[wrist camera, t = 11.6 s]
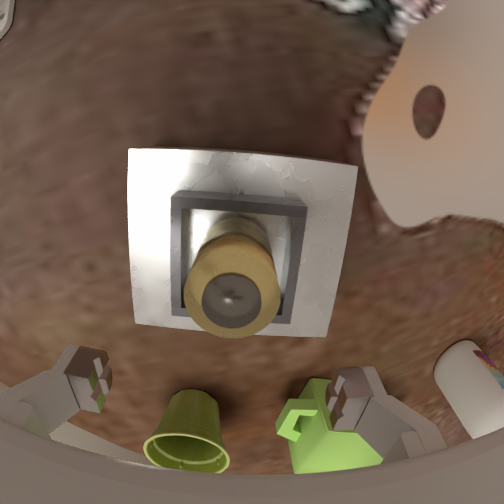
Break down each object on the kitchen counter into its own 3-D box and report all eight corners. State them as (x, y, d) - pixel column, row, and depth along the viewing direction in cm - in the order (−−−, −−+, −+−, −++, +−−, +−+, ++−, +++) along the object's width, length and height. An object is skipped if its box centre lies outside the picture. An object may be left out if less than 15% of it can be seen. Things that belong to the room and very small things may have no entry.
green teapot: (410, 377, 36) (441, 423, 27) (376, 425, 39) (397, 472, 30) (291, 360, 34) (306, 421, 25) (263, 416, 37) (270, 475, 28)
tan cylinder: (202, 214, 22) (181, 253, 15) (274, 220, 22) (287, 261, 15) (200, 280, 23) (182, 339, 16) (267, 285, 24) (275, 346, 17)
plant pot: (153, 374, 34) (135, 428, 26) (231, 380, 35) (229, 438, 26) (163, 422, 38) (151, 471, 29) (231, 427, 38) (229, 479, 30)
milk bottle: (431, 389, 37) (489, 493, 18) (431, 353, 34) (506, 468, 16) (473, 366, 36) (538, 457, 17) (476, 329, 34) (559, 425, 15)
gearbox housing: (152, 146, 26) (114, 150, 18) (335, 160, 26) (371, 170, 18) (152, 290, 30) (126, 340, 22) (312, 302, 31) (332, 355, 23)
